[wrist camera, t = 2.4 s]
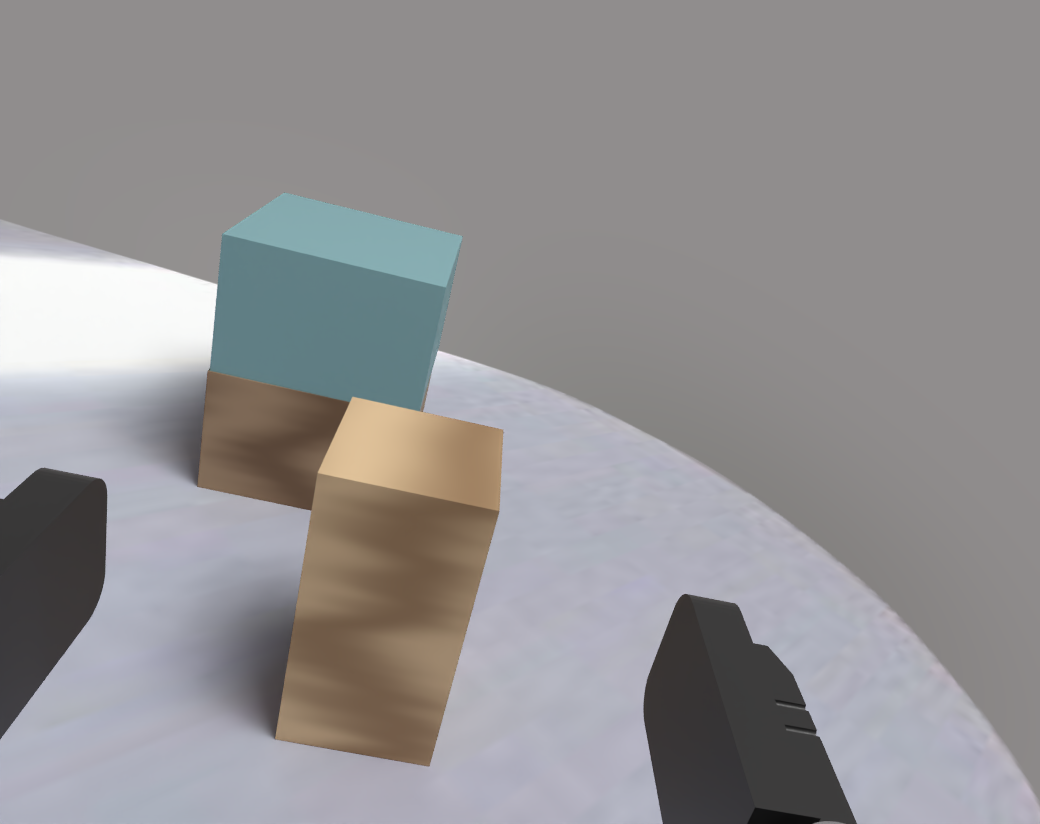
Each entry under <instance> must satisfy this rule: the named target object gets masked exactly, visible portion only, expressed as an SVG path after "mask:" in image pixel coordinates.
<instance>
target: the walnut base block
mask: <svg viewBox="0 0 1040 824" xmlns="http://www.w3.org/2000/svg"><path fill="white" fill-rule="evenodd" d="M430 377H431V375H430ZM429 381H430V379H429ZM428 386H429V382H428ZM428 386H427V389H426V392H425V396H424V399H423V403H422V406H421V410H420V412H423V409H424V405H425V400H426V395H427V391H428ZM349 403H350V402H347V401H343V400H338V399H334V398H329V397H325V396H320V395H316V394H311V393H307V392H302V391H298V390H293V389H289V388H285V387H280V386H276V385H271V384H267V383H262V382H258V381H253V380H249V379H244V378H240V377H235V376H231V375H227V374H222V373H218V372H213V371H210V369H209V370H208V373H207V384H206V396H205V407H204V418H203V430H202V441H201V452H200V463H199V475H198V486H197V487H201V488H206V489H211V490H216V491H220V492H225V493H230V494H235V495H240V496H244V497H249V498H254V499H259V500H264V501H268V502H273V503H278V504H283V505H288V506H292V507H297V508H302V509H307V510H311V511H312V505H313V498H314V492H315V486H316V479H317V473H318V471H319V469H320V467H321V464H322V462H323V460H324V458H325V456H326V453H327V451H328V449H329V447H330V445H331V443H332V440H333V438H334V436H335V434H336V432H337V430H338V427H339V425H340V423H341V421H342V419H343V416H344V414H345V412H346V410H347V408H348V406H349Z"/></svg>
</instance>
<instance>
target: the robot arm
mask: <svg viewBox="0 0 1040 824" xmlns="http://www.w3.org/2000/svg"><path fill="white" fill-rule="evenodd" d="M106 523H107V488H106V484H105V482H104V481H103V480H102V479H99V478H94V477H89V476H83V475H78V474H73V473H68V472H63V471H58V470H53V469H47V468H40V469H38V470H36V471H35V472H34V473H33V474H32V475H30V476H29V477H28V478H27V479H26V480H25V481H24V482H23V483H21V484H20V485H19V486H18V487H17V488H16V489H15V490H14V491H12V492H11V493H10V494H9V495H8V496H7V497H6V498H5V499H0V739H1V738H2V736H3V735H4V734H5V732H6V731H7V730H8V728H9V727H10V726H11V724H12V723H13V721H14V720H15V719H16V717H17V716H18V715H19V713H20V712H21V711H22V709H23V708H24V707H25V705H26V704H27V703H28V701H29V700H30V699H31V697H32V696H33V695H34V693H35V692H36V691H37V689H38V688H39V687H40V685H41V684H42V682H43V681H44V680H45V678H46V677H47V676H48V674H49V673H50V672H51V670H52V669H53V668H54V666H55V665H56V664H57V662H58V661H59V660H60V658H61V657H62V656H63V654H64V653H65V652H66V650H67V649H68V648H69V646H70V645H71V643H72V642H73V641H74V639H75V638H76V637H77V635H78V634H79V633H80V631H81V630H82V629H83V627H84V626H85V625H86V623H87V622H88V620H89V619H90V617H91V616H92V614H93V612H94V610H95V608H96V606H97V603H98V601H99V598H100V595H101V592H102V588H103V584H104V578H105V560H106ZM805 706H806V704H805V702H804V699H803V697H802V695H801V692H800V690H799V688H798V685H797V683H796V681H795V678H794V676H793V674H792V673H791V672H790V671H789V670H788V669H787V667H786V666H785V665H784V664H783V663H782V662H781V661H780V659H779V658H778V657H777V656H776V655H775V654H774V653H773V652H772V650H771V649H770V648H769V647H768V646H765V645H759V644H754V643H753V642H752V639H751V637H750V634H749V631H748V629H747V626H746V624H745V621H744V618H743V616H742V613H741V611H740V609H739V607H738V606H737V605H736V604H735V603H729V602H724V601H719V600H714V599H709V598H704V597H698V596H693V595H688V594H684V595H682V596H681V597H680V598H679V600H678V601H677V603H676V605H675V608H674V610H673V613H672V615H671V618H670V621H669V623H668V626H667V629H666V631H665V634H664V636H663V639H662V642H661V644H660V647H659V649H658V652H657V655H656V657H655V660H654V662H653V665H652V668H651V670H650V673H649V676H648V679H647V683H646V688H645V695H644V722H645V728H646V733H647V739H648V744H649V750H650V755H651V761H652V766H653V772H654V777H655V783H656V788H657V794H658V799H659V805H660V810H661V816H662V821H663V824H857V823H856V821H855V818H854V816H853V814H852V811H851V809H850V807H849V804H848V802H847V800H846V797H845V795H844V793H843V790H842V788H841V786H840V783H839V781H838V779H837V776H836V774H835V772H834V769H833V767H832V765H831V762H830V760H829V758H828V755H827V753H826V751H825V748H824V746H823V744H822V741H821V739H820V737H818V736H816V731H817V730H816V727H815V725H814V723H813V720H812V718H811V716H810V713H809V711H806V710H805Z"/></svg>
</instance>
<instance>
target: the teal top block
mask: <svg viewBox="0 0 1040 824" xmlns="http://www.w3.org/2000/svg"><path fill="white" fill-rule="evenodd" d="M462 237H463V236H459V235H455V234H451V233H447V232H443V231H439V230H434V229H431V228H427V227H422V226H419V225H414V224H410V223H406V222H402V221H398V220H394V219H390V218H386V217H382V216H378V215H374V214H369V213H366V212H362V211H358V210H353V209H349V208H345V207H341V206H337V205H333V204H329V203H324V202H320V201H317V200H313V199H309V198H305V197H301V196H296V195H292V194H288V193H283V194H282V195H280V196H279V197H277V198H276V199H274V200H273V201H271V202H270V203H268V204H267V205H265V206H264V207H262V208H261V209H259V210H258V211H256V212H255V213H253V214H251V215H250V216H248V217H247V218H245V219H244V220H243V221H241V222H239V223H238V224H236V225H235V226H233V227H232V228H231V229H229V230H228V231H226V232H225V233H223V234H222V243H221V254H220V266H219V277H218V287H217V298H216V309H215V320H214V331H213V342H212V353H211V364H210V371H213V372H218V373H222V374H227V375H231V376H235V377H240V378H244V379H249V380H253V381H258V382H262V383H267V384H271V385H276V386H280V387H285V388H289V389H293V390H298V391H302V392H307V393H311V394H316V395H320V396H325V397H329V398H334V399H338V400H343V401H347V402H350V401H351V399H352V397H356V398H361V399H365V400H370V401H375V402H379V403H384V404H388V405H393V406H397V407H402V408H406V409H411V410H415V411H420V410H421V406H422V403H423V399H424V396H425V392H426V389H427V386H428V382H429V379H430V375H431V372H432V368H433V365H434V361H435V358H436V354H437V351H438V348H439V344H440V339H441V334H442V330H443V325H444V321H445V316H446V311H447V307H448V302H449V298H450V293H451V288H452V284H453V279H454V274H455V270H456V265H457V261H458V256H459V251H460V247H461V242H462Z"/></svg>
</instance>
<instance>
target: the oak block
mask: <svg viewBox="0 0 1040 824" xmlns="http://www.w3.org/2000/svg"><path fill="white" fill-rule="evenodd" d="M502 445H503V430H502V429H497V428H493V427H488V426H484V425H479V424H475V423H470V422H466V421H461V420H456V419H452V418H447V417H443V416H438V415H434V414H429V413H425V412H420V411H415V410H411V409H406V408H402V407H397V406H393V405H388V404H384V403H379V402H375V401H370V400H365V399H361V398H356V397H352V399H351V401H350V403H349V406H348V408H347V410H346V412H345V414H344V416H343V419H342V421H341V423H340V425H339V427H338V430H337V432H336V434H335V436H334V438H333V440H332V443H331V445H330V447H329V449H328V451H327V453H326V456H325V458H324V460H323V462H322V464H321V467H320V469H319V471H318V473H317V479H316V486H315V492H314V498H313V505H312V511H311V517H310V523H309V530H308V536H307V542H306V548H305V555H304V561H303V567H302V574H301V580H300V586H299V592H298V599H297V605H296V611H295V617H294V624H293V630H292V636H291V643H290V649H289V655H288V661H287V668H286V674H285V680H284V687H283V693H282V699H281V705H280V712H279V718H278V724H277V730H276V737H275V739H277V740H282V741H288V742H294V743H299V744H305V745H311V746H316V747H322V748H328V749H333V750H339V751H345V752H350V753H356V754H362V755H367V756H373V757H379V758H384V759H390V760H396V761H401V762H407V763H413V764H418V765H424V766H430V762H431V758H432V755H433V751H434V748H435V744H436V740H437V737H438V733H439V729H440V726H441V722H442V718H443V715H444V711H445V707H446V704H447V700H448V696H449V693H450V689H451V686H452V682H453V678H454V675H455V671H456V667H457V664H458V660H459V656H460V653H461V649H462V645H463V642H464V638H465V634H466V631H467V627H468V624H469V620H470V616H471V613H472V609H473V605H474V602H475V598H476V594H477V591H478V587H479V583H480V580H481V576H482V572H483V569H484V565H485V562H486V558H487V554H488V551H489V547H490V543H491V540H492V536H493V532H494V529H495V525H496V521H497V518H498V514H499V507H500V486H501V466H502Z"/></svg>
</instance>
